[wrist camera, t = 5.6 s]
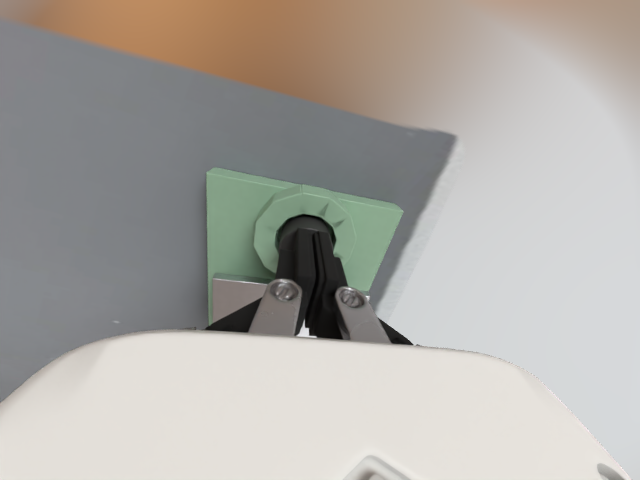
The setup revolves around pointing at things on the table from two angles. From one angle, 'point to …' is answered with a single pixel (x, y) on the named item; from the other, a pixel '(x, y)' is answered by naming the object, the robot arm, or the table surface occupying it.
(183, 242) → the table surface
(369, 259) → the scale
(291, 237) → the button
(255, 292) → the brushed metal plate
